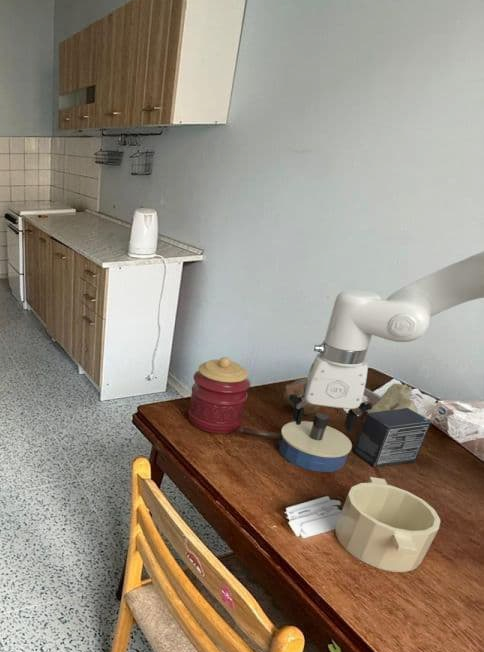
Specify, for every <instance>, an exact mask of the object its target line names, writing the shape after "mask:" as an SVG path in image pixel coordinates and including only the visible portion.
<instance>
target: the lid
mask: <svg viewBox="0 0 484 652" xmlns="http://www.w3.org/2000/svg"><path fill="white" fill-rule="evenodd" d="M329 421H330V416H329V415H328V414H325V413H320V412H318V413H315V416H314V419H313V421H307V420H301V424H299V425H296V421H295V420H294V421H291V422H287V423H286V424H284V425H283V426H282V427H281V430H280V433H281V435H282V437H283V439H284V440H285V441H286V442H287V443H288V444H289V445H291V446H292V447H294V448H296V449H298V450H300V451H302V452H305V453H308V454H311V455H315V456H320V457H329V458H334V457H342V456H345V455H347V454H348V453H349V454H350V453H351V451H352V448H353V444H352V441H351V440H350V438H349V437H348V436H347V435H346V434H344V433H343V432H341V431H340V430H337V429H336V428H334V427H331V426H328V423H329Z"/></svg>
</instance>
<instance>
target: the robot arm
mask: <svg viewBox="0 0 484 652" xmlns="http://www.w3.org/2000/svg"><path fill="white" fill-rule="evenodd" d="M483 298H484V250H483V251H480V252H478V253H476V254H472V255H470V256H468V257H466V258H464V259H461V260H460V261H457V262H454V263H452V264H449V265H447V266H445V267H442V268H440V269H437V270H436V271H433V272H431V273H429V274H427V275H425V276H423V277H421V278H419V279H417V280H415V281H413V282H410V283H409V284H407V285H405V286H403V287H401V288H399V289H398V290H396V291H395V292H393V293H392V294H390V295H389V296H388V297H387V298H386V299H385V300H384V299H382V296H381V295H379V294H378V293H376V292H373V291H369V290H364V289H346V290H343V291H341V292H339V293H338V294H337V295H336V297H335V299H334V304H333V307H332V311H331V315H330V318H329V322H328V324H327V325H328V326H327V330H326V332H325V333H326V334H325V337H324V340H322V343H321V344H315V345H314V347H313V352H318V353H317V354H316V356H315V358H314V359H313V361H312V364H311V366H310V368H309V370H308V373H307V376H306V377H305V378H306V380H303V381H299V382H296V383H293V382H292V383H288V384H286V385H285V391H286V390H287V393H288V395H289V398H290V400H291V401H292V402H293V403H294V405H295V409H294V408H293V409H294V410H293V413H292V419H293V420H294V422H295V421H296V425H299V424H301V421H303V417H304V415H303V413H304V408H303V407H304V406H305V405H307V404H308V403H310V404H313V405H320V406H321V407H329V408H337V409H345V410H347V414H346V418H345V421H344V423H343V424H344V427H345V430H346V432H348V433H351V432H352V430H353V428H355V427H356V426H357V423H358V419H359V417H361V416H363V414H364V413H367V412H368V411H369V410H370V409H372V407H373V406H374V405H375V404H376V403H378V402H379V401H380V398H381V397H380V395H379V394H377V393H375V392H374V391H372V390H371V389H369V388H367V387H366V384H367V379H368V372H369V371H368V370H369V363H368V361H367V360H365V359H366V356H367V352H368V349H369V347H370V342H371V340H372V337H373V336H374V337H378V338H381V339H384V340H387V341H391V342H396V343H409V342H413V341H416V340H418V339H420V338H422V337H423V336H424V335H425V334H426V333H427V331H428V330H429V327H430V324H431V317H433V316H436V315H438V314H440V313H442V312H445V311H447V310H449V309H451V308H454V307H457V306H459V305H462V304H464V303H467V302H470V301H474V300H480V299H483ZM302 388H304V389H303V393H304V394H302V395H300V396H299V397H297V396H296V394H295V393H294V391H295V390H298V389H302ZM363 397H366V398H367V400H366V401H363ZM362 401H363V402H362Z"/></svg>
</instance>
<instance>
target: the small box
mask: <svg viewBox="0 0 484 652" xmlns="http://www.w3.org/2000/svg"><path fill="white" fill-rule="evenodd" d="M364 419H365V420H364ZM364 419H363V423H362V426H361V429H360V431H359V435H358V437H357V440H356V443H355V445H354V448H353V452H352V453H355V454H356V455H357V456H358V457H360V458H361V459H362V460H364V461H365V462H366V463H368V464H369V465H370V466H372V467H373V468H378V467H384V466H394V465H401V464H405V463H406V464H407V463H413V462H414V463H415V462H416V460H417V458H418V455H419V453H420V450H421V448H422V446H423V444H424V441H425V438H426V436H427V434H428V431H429V429H430V427H431V424H432V422H433V421H432V420H431V419H430V418H427V417H425V416H424V415H423V414H422V415H421V414H419V412H418V413H416V412H414V411H412V410H411V409H409V408H403V409H396V410H388V411H379V412H371V413H368V412H366V414H365V417H364Z"/></svg>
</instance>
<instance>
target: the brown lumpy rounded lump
mask: <svg viewBox="0 0 484 652" xmlns="http://www.w3.org/2000/svg"><path fill="white" fill-rule="evenodd" d="M306 378H307V377H303V378H302V377H301V378H299V379H296V380H294V381H293V382H292V383H296V382H299V381H303V380H306ZM303 389H304V388H302V389H298V390H295V391H294V393H295V394H296V396H297V397H299V396H300V395H302V394H304V393H303ZM284 401H285V402H286V403H287V405H289V406H290V407H292V408H293V409H295V405H294V403H293V402H292V401H291V400H290V398H289V395H288V393H287V390H286V389H285V392H284ZM321 407H322V406H320V405H313V404H310V403H308V404H307V405H305V406H304V407H303V408H304V413H303V416H307V415H308V416H309V415H311V414H314V413H316V411H318V410H319V409H320V408H321Z"/></svg>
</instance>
